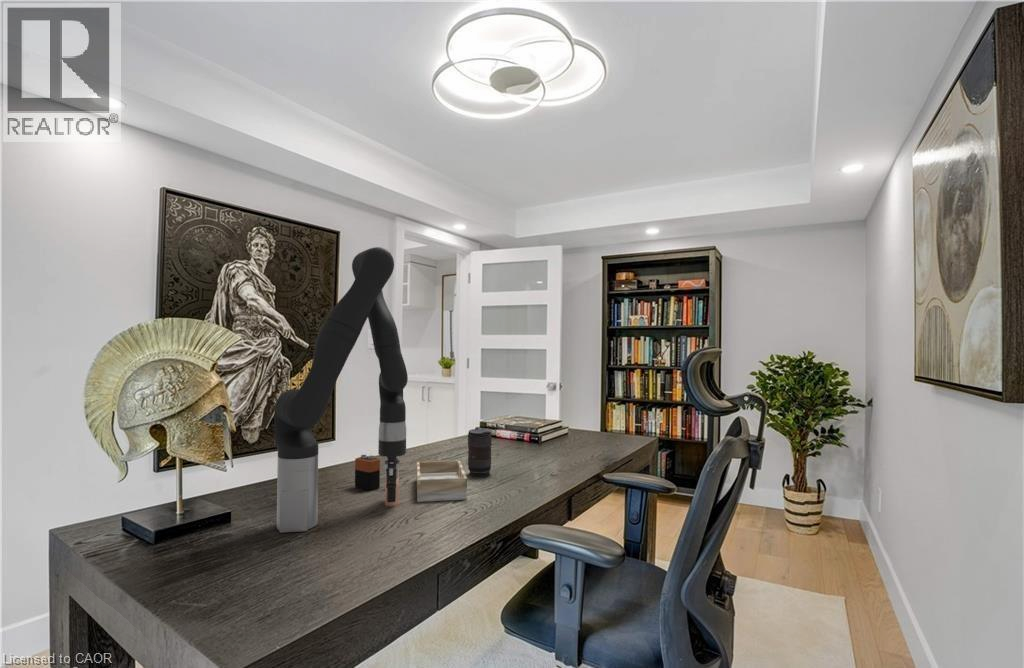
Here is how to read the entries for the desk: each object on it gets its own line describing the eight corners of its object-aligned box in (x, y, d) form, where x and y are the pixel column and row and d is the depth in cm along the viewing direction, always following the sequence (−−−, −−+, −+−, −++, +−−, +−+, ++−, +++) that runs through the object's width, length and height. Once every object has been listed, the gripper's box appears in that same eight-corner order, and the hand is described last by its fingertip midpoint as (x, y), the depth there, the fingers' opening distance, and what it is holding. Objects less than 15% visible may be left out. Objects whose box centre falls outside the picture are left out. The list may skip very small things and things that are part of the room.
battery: (369, 491, 154) (369, 458, 154) (354, 487, 158) (354, 455, 158) (380, 488, 158) (380, 455, 158) (365, 484, 161) (365, 452, 161)
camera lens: (462, 475, 173) (463, 430, 173) (477, 470, 180) (477, 427, 180) (481, 479, 169) (481, 433, 169) (496, 474, 175) (496, 430, 175)
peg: (398, 506, 141) (398, 473, 141) (384, 506, 140) (385, 473, 140) (398, 501, 145) (398, 469, 145) (385, 502, 144) (385, 470, 144)
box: (466, 499, 147) (466, 478, 147) (417, 501, 145) (417, 480, 145) (459, 478, 169) (460, 460, 169) (416, 480, 166) (416, 461, 166)
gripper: (405, 442, 136) (405, 506, 136) (406, 432, 150) (405, 491, 150) (376, 443, 135) (376, 508, 135) (380, 433, 149) (379, 492, 149)
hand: (391, 498), depth 142 cm, fingers open, 4 cm apart
